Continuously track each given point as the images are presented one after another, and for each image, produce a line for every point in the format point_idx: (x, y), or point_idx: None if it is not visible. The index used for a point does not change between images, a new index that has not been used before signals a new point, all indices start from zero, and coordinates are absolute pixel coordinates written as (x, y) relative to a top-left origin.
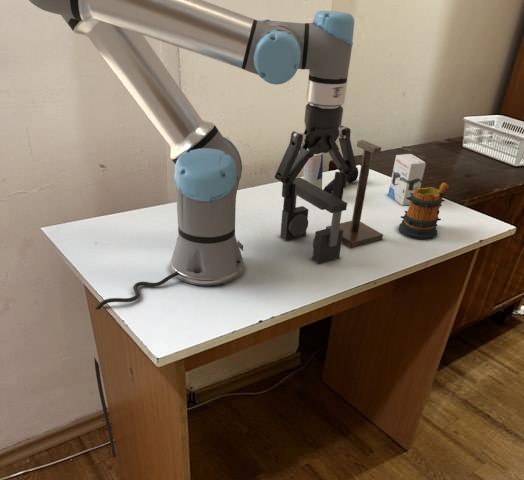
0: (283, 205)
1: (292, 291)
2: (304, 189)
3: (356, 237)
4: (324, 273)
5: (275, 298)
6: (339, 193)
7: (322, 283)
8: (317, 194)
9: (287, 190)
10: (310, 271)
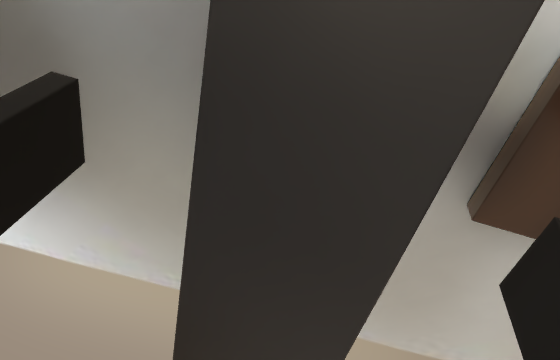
0: (24, 86)
1: (67, 213)
2: (199, 207)
3: (543, 212)
4: None
5: None
6: (528, 353)
7: (168, 246)
8: (218, 334)
9: None
10: (185, 190)
